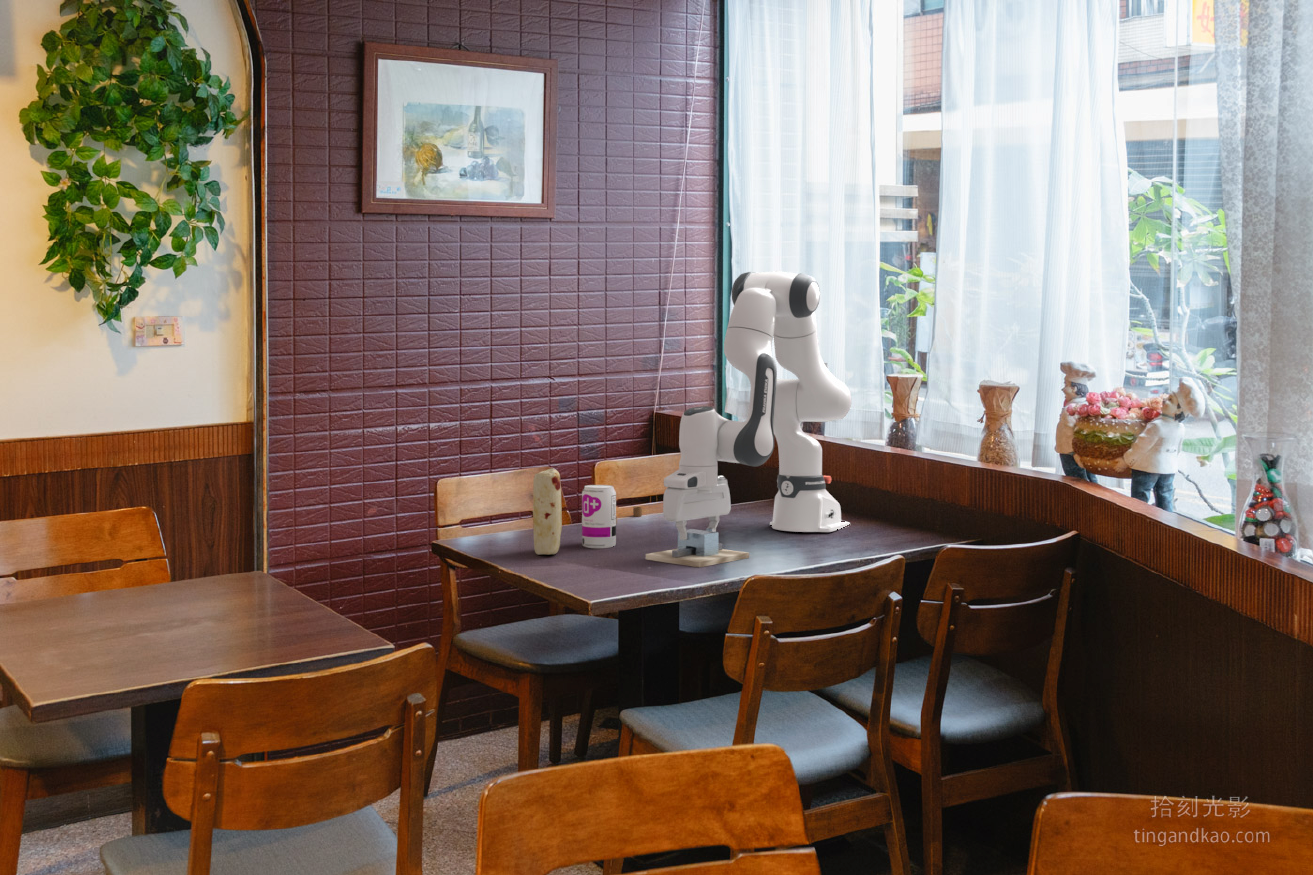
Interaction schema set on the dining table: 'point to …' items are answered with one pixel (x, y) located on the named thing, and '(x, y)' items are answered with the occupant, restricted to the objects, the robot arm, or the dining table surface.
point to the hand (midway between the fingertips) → (697, 537)
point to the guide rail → (688, 551)
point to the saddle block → (701, 542)
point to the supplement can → (598, 516)
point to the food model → (547, 512)
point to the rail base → (698, 558)
